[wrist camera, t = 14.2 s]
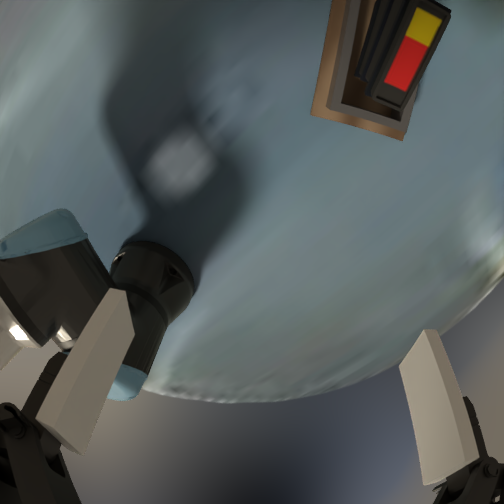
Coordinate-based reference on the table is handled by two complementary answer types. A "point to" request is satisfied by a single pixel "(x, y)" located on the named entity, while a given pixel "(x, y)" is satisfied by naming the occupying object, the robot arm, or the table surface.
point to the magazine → (399, 48)
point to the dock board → (348, 74)
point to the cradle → (396, 119)
